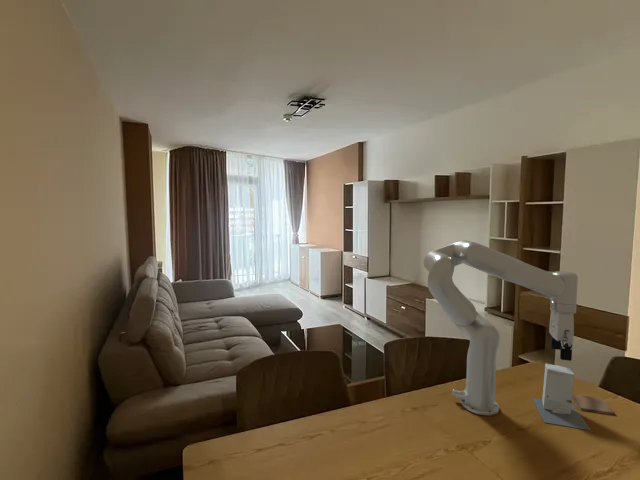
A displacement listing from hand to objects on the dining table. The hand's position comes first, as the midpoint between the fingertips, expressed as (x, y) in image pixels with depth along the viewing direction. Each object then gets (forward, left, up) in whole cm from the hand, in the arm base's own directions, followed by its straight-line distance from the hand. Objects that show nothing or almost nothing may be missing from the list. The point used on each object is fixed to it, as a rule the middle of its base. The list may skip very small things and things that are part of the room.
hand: (560, 354), depth 124 cm
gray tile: (0, -3, -20) cm, 20 cm away
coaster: (+13, +7, -20) cm, 25 cm away
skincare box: (0, 0, -20) cm, 20 cm away
